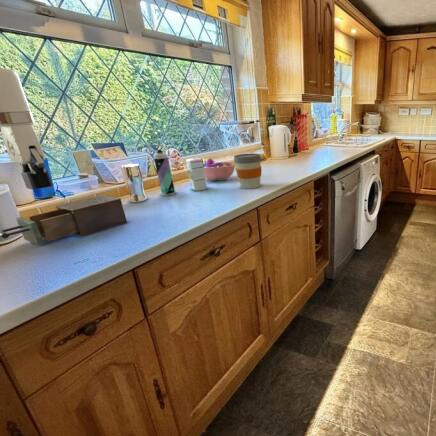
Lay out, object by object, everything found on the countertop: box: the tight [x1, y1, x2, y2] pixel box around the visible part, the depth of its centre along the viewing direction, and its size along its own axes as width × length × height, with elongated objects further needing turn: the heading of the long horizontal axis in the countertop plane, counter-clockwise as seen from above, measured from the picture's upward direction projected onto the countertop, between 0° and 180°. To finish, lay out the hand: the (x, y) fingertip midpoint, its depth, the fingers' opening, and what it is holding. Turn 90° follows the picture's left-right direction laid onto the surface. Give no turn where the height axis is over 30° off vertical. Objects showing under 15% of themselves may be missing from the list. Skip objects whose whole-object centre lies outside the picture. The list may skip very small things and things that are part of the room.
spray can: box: [153, 149, 176, 197], centre depth 135 cm, size 6×6×20 cm
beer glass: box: [120, 163, 148, 203], centre depth 127 cm, size 7×7×15 cm
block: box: [20, 170, 54, 191], centre depth 86 cm, size 4×4×4 cm
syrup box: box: [185, 157, 208, 192], centre depth 142 cm, size 6×6×14 cm
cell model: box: [203, 158, 236, 181], centre depth 161 cm, size 17×20×11 cm
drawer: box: [0, 209, 79, 247], centre depth 88 cm, size 18×10×7 cm, turn 151°
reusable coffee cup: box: [233, 153, 262, 190], centre depth 144 cm, size 13×13×15 cm
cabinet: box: [55, 194, 128, 238], centre depth 99 cm, size 14×12×9 cm
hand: (39, 185), depth 86 cm, fingers closed on block, 4 cm apart
